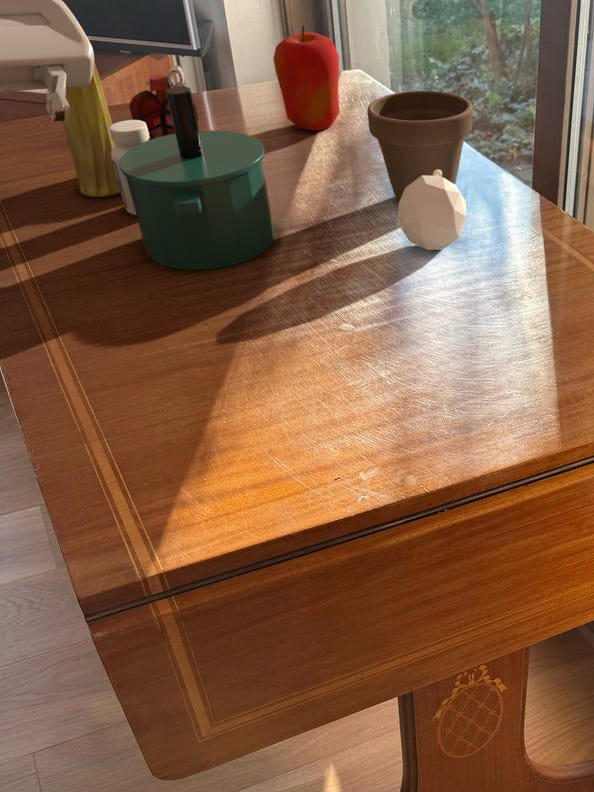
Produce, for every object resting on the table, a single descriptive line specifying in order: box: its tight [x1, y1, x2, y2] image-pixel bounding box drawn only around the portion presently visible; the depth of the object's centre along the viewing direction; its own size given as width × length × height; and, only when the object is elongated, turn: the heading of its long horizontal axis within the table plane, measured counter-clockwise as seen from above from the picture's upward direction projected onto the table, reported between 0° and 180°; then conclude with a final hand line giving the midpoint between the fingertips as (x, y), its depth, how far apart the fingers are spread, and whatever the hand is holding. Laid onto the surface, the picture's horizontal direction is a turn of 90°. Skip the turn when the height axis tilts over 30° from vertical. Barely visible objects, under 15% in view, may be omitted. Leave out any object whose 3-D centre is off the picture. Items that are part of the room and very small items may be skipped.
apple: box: [273, 24, 341, 132], centre depth 128 cm, size 9×8×12 cm
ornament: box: [398, 170, 467, 251], centre depth 102 cm, size 7×7×8 cm
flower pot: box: [366, 90, 474, 203], centre depth 110 cm, size 12×11×10 cm
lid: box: [119, 86, 265, 187], centre depth 99 cm, size 15×15×7 cm
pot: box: [126, 160, 275, 271], centre depth 104 cm, size 14×19×8 cm
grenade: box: [128, 65, 199, 141], centre depth 122 cm, size 5×8×10 cm, turn 103°
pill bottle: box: [109, 119, 149, 216], centre depth 111 cm, size 5×5×9 cm
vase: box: [61, 61, 121, 199], centre depth 113 cm, size 6×6×14 cm
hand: (9, 120), depth 88 cm, fingers open, 8 cm apart
